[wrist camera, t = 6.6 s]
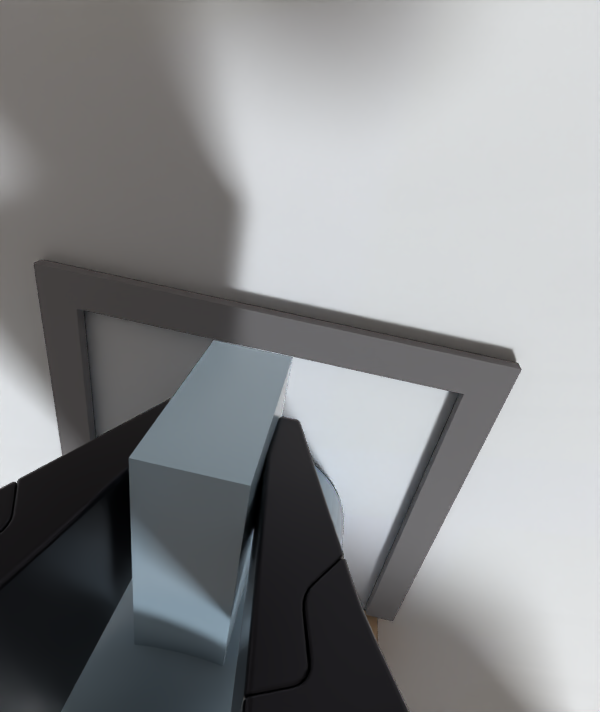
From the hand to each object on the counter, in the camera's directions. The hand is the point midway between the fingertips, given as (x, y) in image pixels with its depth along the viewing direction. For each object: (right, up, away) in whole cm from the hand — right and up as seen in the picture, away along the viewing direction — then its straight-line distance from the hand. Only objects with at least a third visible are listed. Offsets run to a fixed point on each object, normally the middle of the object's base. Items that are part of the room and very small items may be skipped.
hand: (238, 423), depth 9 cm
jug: (0, -2, +5) cm, 5 cm away
